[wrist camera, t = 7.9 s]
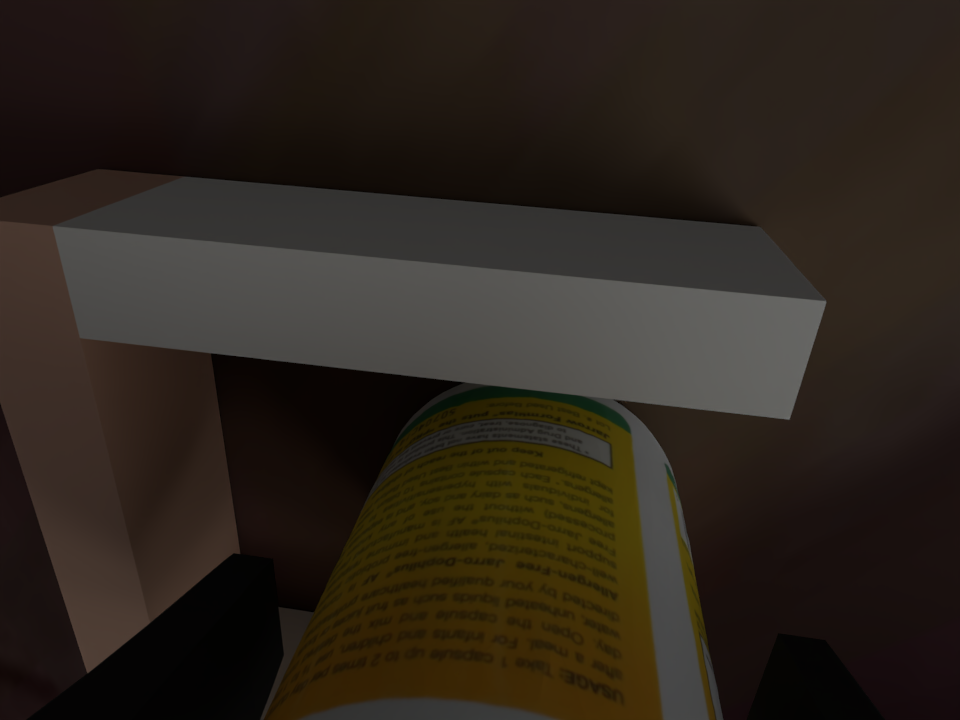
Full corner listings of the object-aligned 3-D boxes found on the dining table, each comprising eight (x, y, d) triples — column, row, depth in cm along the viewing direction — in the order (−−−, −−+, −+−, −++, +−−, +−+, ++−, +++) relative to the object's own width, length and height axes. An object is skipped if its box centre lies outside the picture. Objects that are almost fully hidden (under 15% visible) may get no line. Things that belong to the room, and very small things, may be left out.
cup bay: (638, 709, 15) (651, 858, 12) (194, 637, 16) (116, 760, 13) (760, 226, 10) (826, 301, 7) (97, 168, 11) (-61, 215, 8)
